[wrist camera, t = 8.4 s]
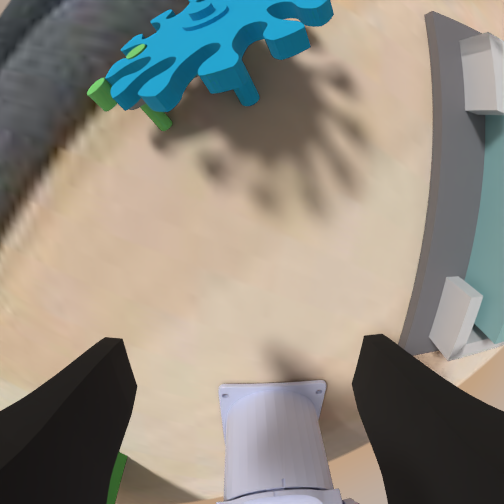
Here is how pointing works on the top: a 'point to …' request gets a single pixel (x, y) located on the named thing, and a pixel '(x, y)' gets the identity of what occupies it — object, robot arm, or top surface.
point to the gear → (205, 52)
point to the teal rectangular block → (490, 236)
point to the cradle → (454, 189)
